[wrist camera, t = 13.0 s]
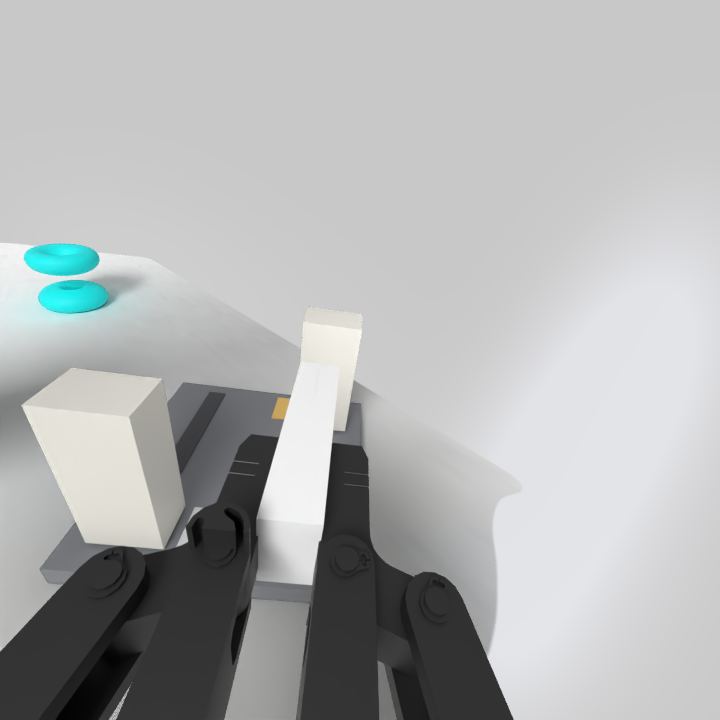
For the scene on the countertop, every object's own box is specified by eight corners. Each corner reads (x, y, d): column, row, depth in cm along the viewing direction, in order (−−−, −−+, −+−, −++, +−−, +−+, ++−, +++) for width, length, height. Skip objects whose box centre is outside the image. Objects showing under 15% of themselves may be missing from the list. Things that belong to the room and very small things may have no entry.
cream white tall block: (344, 431, 42) (362, 330, 35) (296, 425, 42) (303, 322, 34) (346, 410, 45) (362, 314, 38) (300, 405, 45) (308, 306, 38)
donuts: (79, 239, 64) (108, 253, 60) (93, 290, 69) (120, 306, 65) (10, 245, 57) (37, 262, 53) (31, 301, 62) (57, 320, 58)
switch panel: (356, 606, 28) (360, 593, 27) (48, 582, 26) (38, 567, 25) (358, 414, 49) (360, 402, 47) (185, 394, 47) (183, 381, 46)
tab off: (163, 549, 27) (128, 417, 20) (85, 542, 27) (21, 405, 20) (185, 505, 31) (162, 378, 24) (116, 498, 30) (71, 367, 23)
